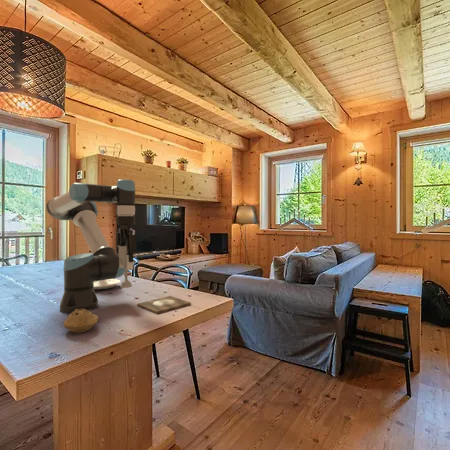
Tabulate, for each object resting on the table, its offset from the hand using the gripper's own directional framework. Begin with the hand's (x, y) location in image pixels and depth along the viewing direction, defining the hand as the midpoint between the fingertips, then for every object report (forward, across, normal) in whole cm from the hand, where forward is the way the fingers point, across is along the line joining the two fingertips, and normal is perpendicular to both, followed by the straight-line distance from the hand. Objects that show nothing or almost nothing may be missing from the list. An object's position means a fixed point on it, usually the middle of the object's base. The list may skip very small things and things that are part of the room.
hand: (126, 268), depth 126 cm
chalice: (+8, 0, 0) cm, 8 cm away
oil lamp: (+18, -10, +23) cm, 31 cm away
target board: (+17, -8, -14) cm, 24 cm away
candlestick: (+18, +45, -6) cm, 49 cm away
